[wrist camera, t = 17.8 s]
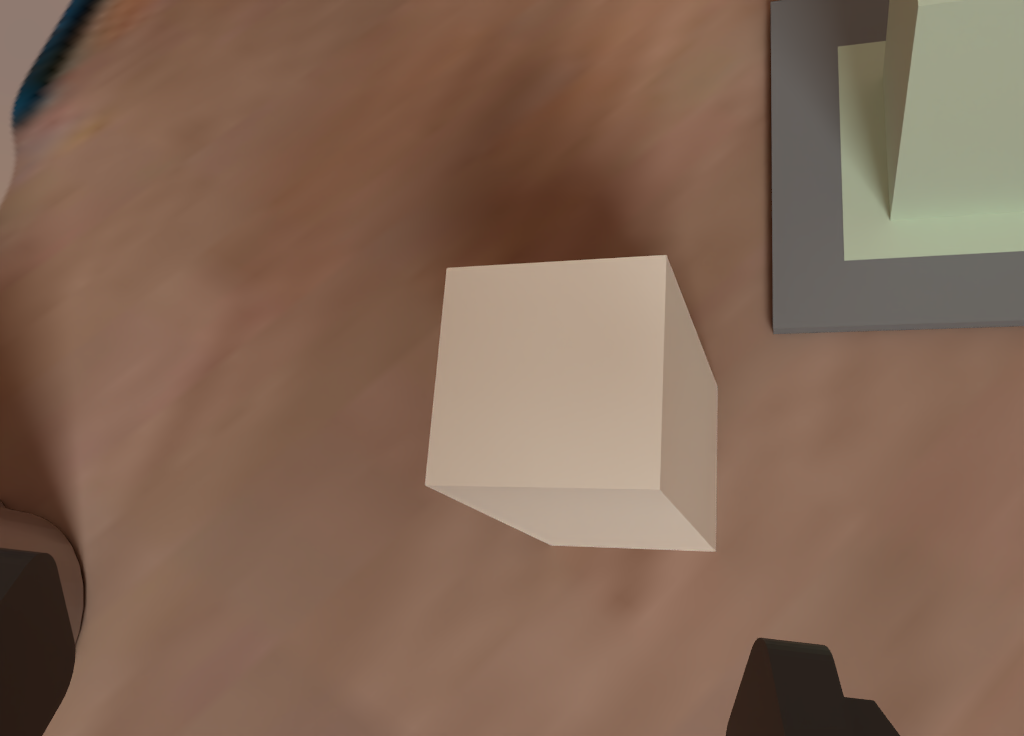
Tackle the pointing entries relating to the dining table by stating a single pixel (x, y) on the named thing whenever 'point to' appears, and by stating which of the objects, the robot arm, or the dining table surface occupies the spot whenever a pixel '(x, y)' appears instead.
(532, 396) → the cream block
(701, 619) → the dining table surface
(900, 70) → the sage block
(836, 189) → the slate mat
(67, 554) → the robot arm
